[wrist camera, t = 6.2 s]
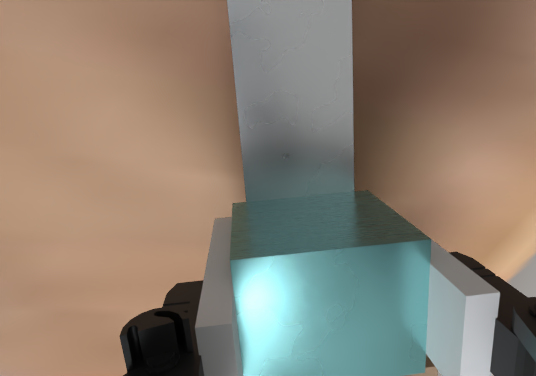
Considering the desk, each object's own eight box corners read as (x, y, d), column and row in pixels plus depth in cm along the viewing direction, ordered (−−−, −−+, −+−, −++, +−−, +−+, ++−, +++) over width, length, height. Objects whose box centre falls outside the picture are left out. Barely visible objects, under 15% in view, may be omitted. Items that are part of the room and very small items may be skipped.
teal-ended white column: (202, -127, 14) (147, -455, 5) (331, -132, 14) (464, -455, 6) (247, 307, 19) (254, 478, 10) (341, 297, 19) (421, 455, 11)
